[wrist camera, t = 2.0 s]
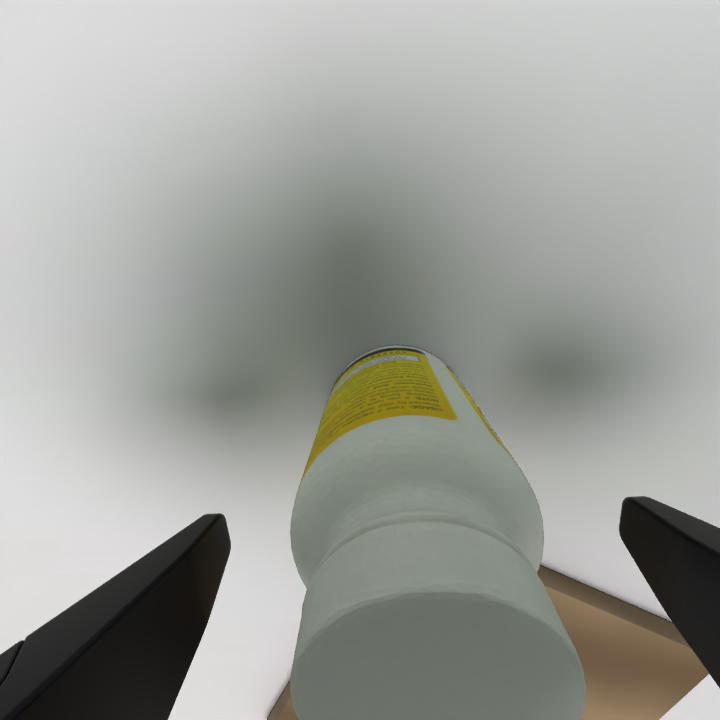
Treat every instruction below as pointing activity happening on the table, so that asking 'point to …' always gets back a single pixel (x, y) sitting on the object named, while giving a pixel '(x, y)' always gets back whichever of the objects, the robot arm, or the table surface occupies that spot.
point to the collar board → (609, 655)
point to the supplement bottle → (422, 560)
